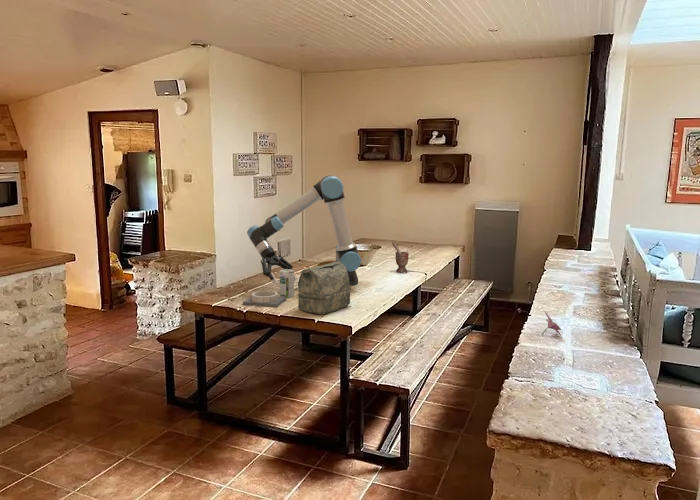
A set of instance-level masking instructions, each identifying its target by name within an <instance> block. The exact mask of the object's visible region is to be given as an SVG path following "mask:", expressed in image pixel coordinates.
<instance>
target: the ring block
mask: <svg viewBox="0 0 700 500" xmlns="http://www.w3.org/2000/svg"><path fill="white" fill-rule="evenodd" d="M284 302H287V298H286V297H280V296H279V293H278V292H277V291H273V290H258V291H254V292H252V293H251V296H250V297H248V298H247V299H245V300H244V301H243V302H242V305H243V306H254V307H269V308H278V307H279V306H281V305H282V304H283V303H284Z"/></svg>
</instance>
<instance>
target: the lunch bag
mask: <svg viewBox="0 0 700 500" xmlns="http://www.w3.org/2000/svg"><path fill="white" fill-rule="evenodd" d="M297 289H298V293H297V296H298V297H297V298H298V303H297V304H298V306H297V307H298V310H299V311H301V312H307V313H311V314H316V315H320V316H321V315H326V314H329V313H332V312H334V311H335V312H336V311H339V310H340V309H342V308H346V307H348V306H350V305H351V285H350V283H349V277H348V273H347V270H346V267H345V266H344V264H342V263H341V262H336V261H333V262H330V263H327V264H322V265H317V266H315V267H307V268H303V269H302V270H301V272H300V275H299V279H298V282H297Z"/></svg>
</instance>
